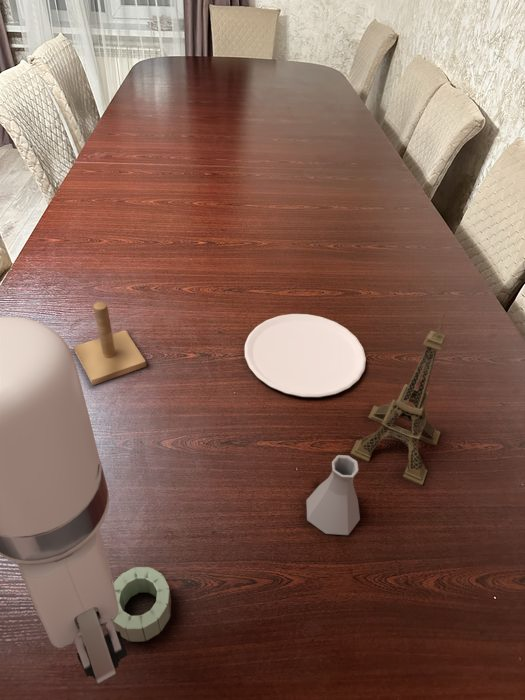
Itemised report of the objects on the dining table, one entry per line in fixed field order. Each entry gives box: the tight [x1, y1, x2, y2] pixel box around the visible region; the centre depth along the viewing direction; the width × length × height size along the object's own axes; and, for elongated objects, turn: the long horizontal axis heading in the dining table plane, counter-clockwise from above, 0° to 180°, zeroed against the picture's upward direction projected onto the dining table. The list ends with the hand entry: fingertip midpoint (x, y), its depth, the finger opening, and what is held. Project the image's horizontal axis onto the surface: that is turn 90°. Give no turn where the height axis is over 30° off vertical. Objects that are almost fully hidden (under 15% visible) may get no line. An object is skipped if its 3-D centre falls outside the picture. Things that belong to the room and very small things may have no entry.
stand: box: [73, 301, 147, 386], centre depth 83 cm, size 9×9×11 cm
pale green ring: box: [112, 566, 172, 643], centre depth 56 cm, size 6×6×4 cm
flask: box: [305, 454, 361, 536], centre depth 65 cm, size 7×7×10 cm
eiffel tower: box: [349, 310, 447, 487], centre depth 68 cm, size 11×11×25 cm
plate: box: [244, 313, 367, 398], centre depth 89 cm, size 21×21×1 cm
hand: (89, 606), depth 44 cm, fingers open, 9 cm apart
